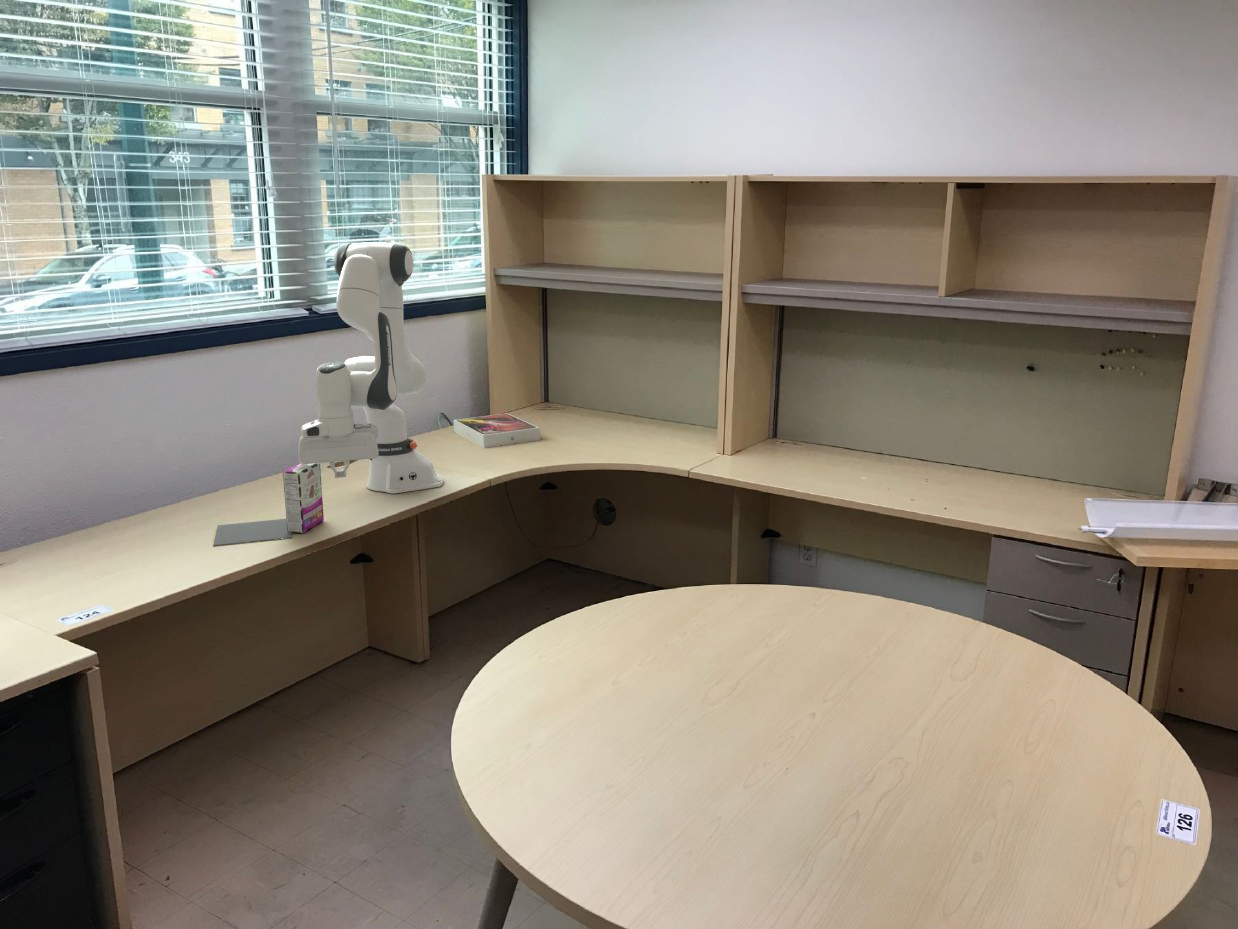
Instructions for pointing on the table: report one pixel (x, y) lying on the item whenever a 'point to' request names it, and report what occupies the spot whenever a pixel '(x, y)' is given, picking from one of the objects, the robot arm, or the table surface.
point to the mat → (251, 532)
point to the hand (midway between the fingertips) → (340, 477)
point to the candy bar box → (303, 497)
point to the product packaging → (496, 430)
